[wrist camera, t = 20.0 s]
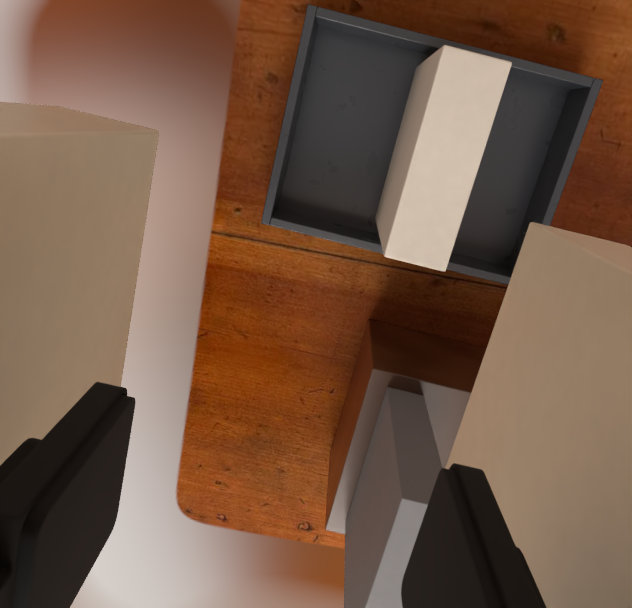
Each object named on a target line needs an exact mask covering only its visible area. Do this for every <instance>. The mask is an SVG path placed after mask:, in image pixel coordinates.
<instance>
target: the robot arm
mask: <svg viewBox="0 0 632 608" xmlns="http://www.w3.org/2000/svg"><path fill="white" fill-rule="evenodd" d="M134 408H135V398H133V397H128V396H127V389H126V388H123V387H119V386H114V385H110V384H106V383H101V382H96V383H95V384H94V385H93V386H92V387H91V388H90V389H89V390H88V391H87V392H86V393H85V394H84V395H83V396H82V397H81V398H80V399H79V401H78V402H77V403H76V404H75V405H74V406H73V407H72V408H71V409H70V410H69V411H68V412H67V413H66V414H65V415H64V417H63V418H62V419H61V420H60V421H59V422H58V423H57V424H56V425H55V426H54V427H53V428H52V429H51V430H50V431H49V433H48V434H47V435H46V436H45V437H44V438H43V439H42V440H41V439H36V438H28V439H27V440H26V441H24V442H23V443H22V444H21V445H20V446H19V447H18V448H17V449H16V450H15V451H14V452H13V453H12V454H11V455H10V456H9V457H8V458H7V459H6V460H5V461H4V462H3V463H2V464H1V465H0V608H70V606H71V604H72V603H73V601H74V599H75V597H76V595H77V594H78V592H79V590H80V588H81V586H82V585H83V583H84V581H85V579H86V577H87V575H88V573H89V572H90V570H91V568H92V567H93V565H94V563H95V561H96V559H97V557H98V556H99V554H100V552H101V550H102V548H103V547H104V545H105V543H106V541H107V539H108V538H109V536H110V534H111V532H112V530H113V527H114V524H115V521H116V517H117V513H118V507H119V501H120V495H121V489H122V483H123V476H124V470H125V464H126V457H127V451H128V445H129V439H130V433H131V426H132V421H133V413H134ZM401 600H402V607H403V608H546V605H545V603H544V601H543V598H542V596H541V594H540V592H539V589H538V587H537V585H536V582H535V580H534V578H533V575H532V573H531V571H530V569H529V566H528V564H527V562H526V559H525V557H524V555H523V553H522V552H521V550H520V548H518V547H516V546H515V543H514V541H513V539H512V536H511V534H510V532H509V529H508V527H507V525H506V522H505V520H504V518H503V515H502V513H501V511H500V508H499V506H498V504H497V501H496V499H495V496H494V494H493V492H492V489H491V487H490V485H489V482H488V480H487V478H486V475H485V473H484V471H483V470H482V469H478V468H474V467H469V466H465V465H460V464H456V463H453V464H452V465H451V466H450V468H449V469H445V468H442V469H441V470H440V472H439V474H438V477H437V480H436V482H435V485H434V488H433V491H432V494H431V497H430V500H429V503H428V506H427V509H426V512H425V515H424V518H423V521H422V523H421V526H420V529H419V532H418V535H417V538H416V541H415V544H414V547H413V550H412V553H411V556H410V559H409V562H408V565H407V567H406V570H405V573H404V576H403V580H402V587H401Z"/></svg>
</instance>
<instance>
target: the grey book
mask: <svg viewBox="0 0 632 608" xmlns="http://www.w3.org/2000/svg"><path fill="white" fill-rule="evenodd" d="M441 469H442V464H441V460H440V456H439V452H438V448H437V445H436V441H435V437H434V433H433V429H432V425H431V422H430V418H429V414H428V410H427V406H426V402H425V398H424V396H423V395H419V394H415V393H411V392H407V391H403V390H399V389H394V388H390V387H387V389H386V392H385V396H384V399H383V402H382V405H381V409H380V412H379V415H378V418H377V422H376V425H375V428H374V431H373V435H372V438H371V441H370V444H369V448H368V451H367V454H366V457H365V461H364V464H363V467H362V470H361V474H360V477H359V480H358V483H357V487H356V490H355V493H354V496H353V500H352V503H351V506H350V509H349V513H348V516H347V519H346V522H345V582H344V583H345V584H344V586H345V587H344V608H403V607H402V600H401V587H402V580H403V576H404V573H405V570H406V567H407V565H408V562H409V559H410V556H411V553H412V550H413V547H414V544H415V541H416V538H417V535H418V532H419V529H420V526H421V523H422V521H423V518H424V515H425V512H426V509H427V506H428V503H429V500H430V497H431V494H432V491H433V488H434V485H435V482H436V480H437V477H438V474H439V472H440V470H441Z"/></svg>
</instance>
